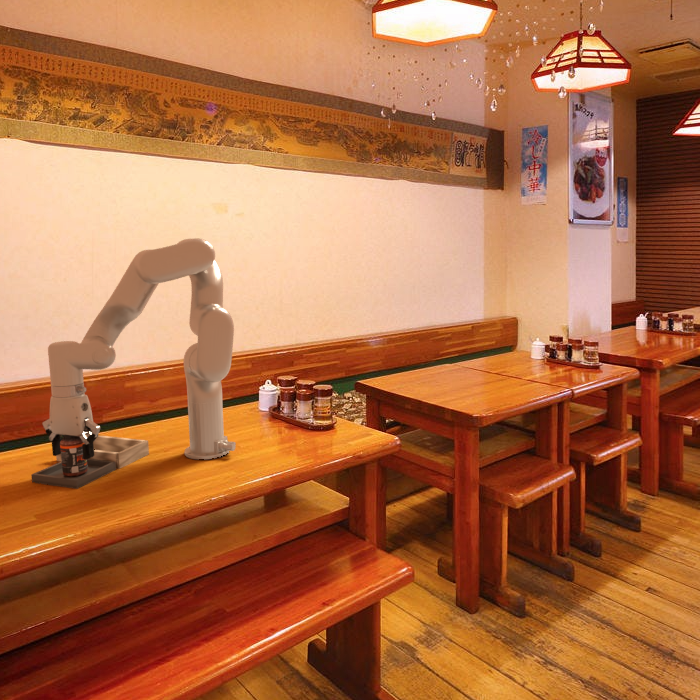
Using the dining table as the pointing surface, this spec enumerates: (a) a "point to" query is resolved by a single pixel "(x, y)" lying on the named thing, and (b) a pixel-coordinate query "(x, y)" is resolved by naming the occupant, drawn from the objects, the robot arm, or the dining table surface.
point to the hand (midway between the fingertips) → (73, 456)
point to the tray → (56, 477)
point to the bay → (118, 450)
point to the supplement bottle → (72, 456)
